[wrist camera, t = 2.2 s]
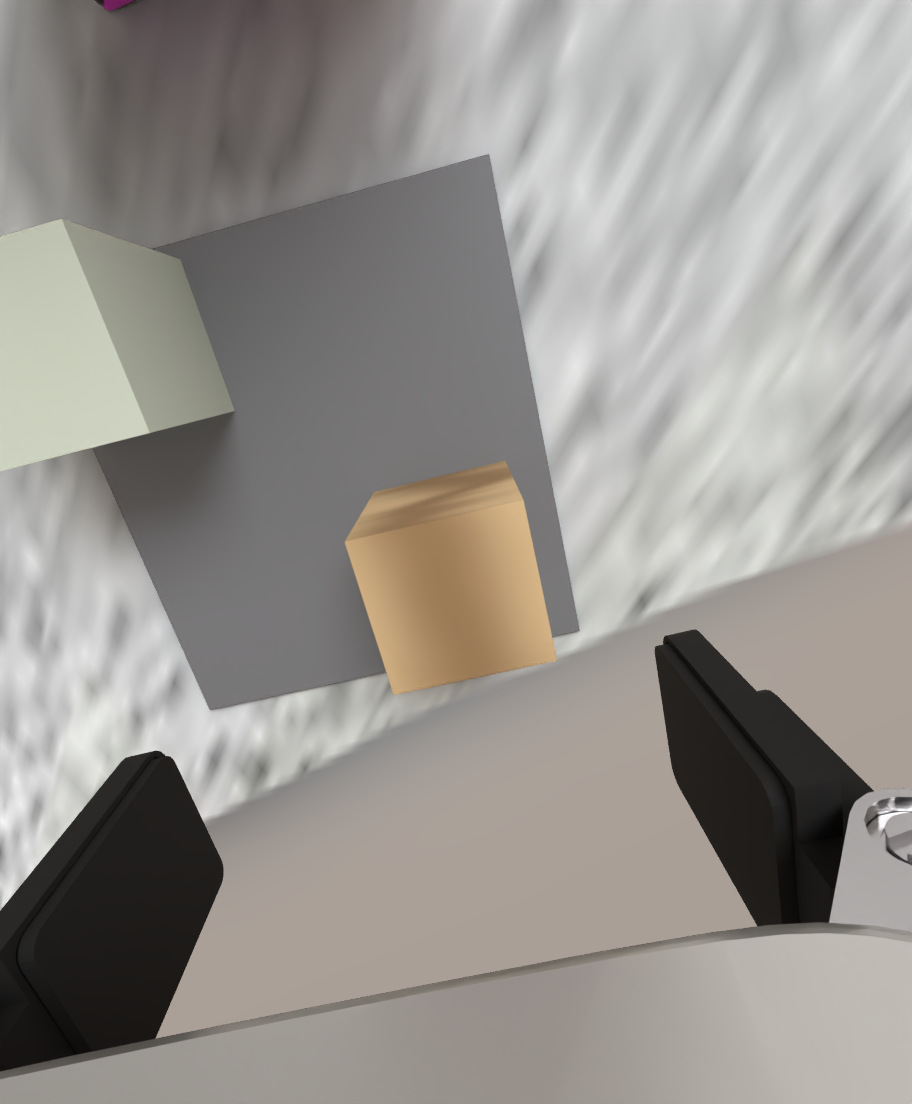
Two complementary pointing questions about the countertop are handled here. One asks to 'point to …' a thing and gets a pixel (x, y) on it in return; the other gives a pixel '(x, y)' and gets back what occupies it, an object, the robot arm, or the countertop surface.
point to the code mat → (332, 423)
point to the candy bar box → (113, 4)
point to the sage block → (96, 344)
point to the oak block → (451, 579)
